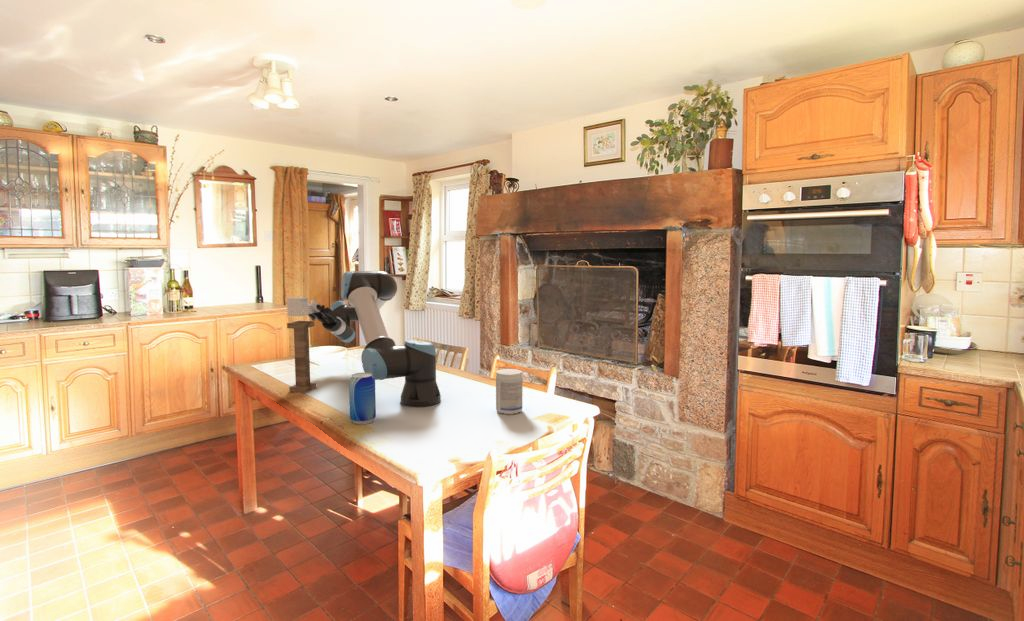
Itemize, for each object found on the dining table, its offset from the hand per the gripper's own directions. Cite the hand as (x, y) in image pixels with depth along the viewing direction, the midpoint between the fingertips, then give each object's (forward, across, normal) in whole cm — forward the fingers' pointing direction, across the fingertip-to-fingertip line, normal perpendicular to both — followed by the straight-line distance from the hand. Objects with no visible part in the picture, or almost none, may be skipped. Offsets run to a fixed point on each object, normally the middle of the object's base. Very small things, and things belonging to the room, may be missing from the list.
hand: (307, 302), depth 211 cm
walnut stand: (-15, 0, -33) cm, 36 cm away
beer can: (+12, -42, -49) cm, 65 cm away
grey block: (-1, 0, -4) cm, 5 cm away
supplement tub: (-7, -88, -38) cm, 96 cm away
